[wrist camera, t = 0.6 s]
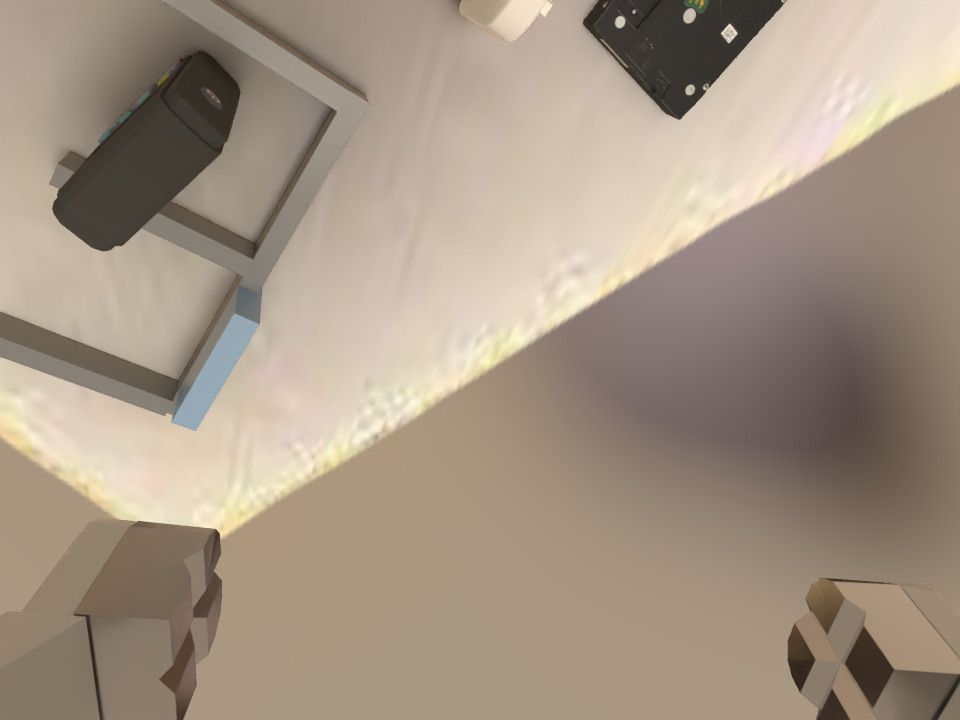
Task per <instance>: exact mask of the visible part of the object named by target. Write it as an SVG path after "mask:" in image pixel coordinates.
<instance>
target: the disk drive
mask: <svg viewBox="0 0 960 720" xmlns="http://www.w3.org/2000/svg"><path fill="white" fill-rule="evenodd" d="M786 1H787V0H599V2H598V3H597V4H596V5H595V8H594V9H593V10H592V11H591V12H590V13H589V14H588V17H586V18H585V20H584V21H583V24H584V25H585V27H586V28H587V29H588V30H589V31H590V32H591V33H592V34H593V35H594V36H595V37H596V38H597V39H598V40H599V42H600V43H601V44H602V45H603V46H604V47H605V48H606V49H607V51H609V52H610V54H611V55H612V56H613V57H614V58H615V59H616V60H617V61H618V62H619V64H620V65H621V66H622V67H623V68H624V69H625V70H626V71H627V72H628V73H629V74H630V75H631V77H632V78H633V79H634V80H635V81H636V82H637V83H638V84H639V85H640V86H641V87H642V89H643V90H644V91H645V92H646V93H647V94H648V95H649V96H650V97H651V98H652V99H653V100H654V101H655V102H656V103H657V104H658V105H659V106H660V108H661V109H662V110H663V111H664V112H665V113H666V114H668V115H670V116H672V117H674V118H676V119H679V120H680V119H681V118H682V117H683V116H684V115H685V114H686V113H687V112H688V111H689V110H690V109H691V108H692V107H693V106H694V105H695V104H696V103H697V101H698V100H699V99H700V98H701V97H702V96H703V95H704V94H705V92H706V90H707V89H708V88H709V87H710V86H711V85H712V84H713V83H714V82H715V81H716V80H717V79H718V78H719V76H720V75H721V74H722V73H723V72H724V71H725V69H726V68H727V67H728V66H729V65H730V64H731V63H732V61H733V60H734V59H735V58H736V57H737V56H738V55H739V54H740V52H741V51H742V50H743V49H744V48H745V47H746V46H747V44H748V43H749V42H750V41H751V40H752V39H753V37H755V36H756V35H757V34H758V32H759V31H760V30H761V29H762V28H763V27H764V25H765V24H766V23H767V22H768V21H769V20H770V19H771V18H772V17H773V16H774V14H775V13H776V12H777V11H778V10H779V9H780V8H781V7H782V5H783V4H784V3H785V2H786Z"/></svg>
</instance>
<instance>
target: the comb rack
mask: <svg viewBox="0 0 960 720" xmlns="http://www.w3.org/2000/svg"><path fill="white" fill-rule="evenodd" d="M162 1H163V2H165V3H166V4H168V5H169V6H171V7H173V8H174V9H176V10H177V11H179V12H181V13H182V14H184V15H185V16H187V17H188V18H190V19H192V20H193V21H195V22H196V23H198V24H200V25H201V26H203V27H204V28H206V29H207V30H209V31H211V32H212V33H214V34H215V35H217V36H219V37H220V38H222V39H223V40H225V41H226V42H228V43H230V44H231V45H233V46H234V47H236V48H238V49H239V50H241V51H242V52H244V53H245V54H247V55H249V56H250V57H252V58H253V59H255V60H257V61H258V62H260V63H261V64H263V65H264V66H266V67H268V68H269V69H271V70H272V71H274V72H276V73H277V74H279V75H280V76H282V77H283V78H285V79H287V80H288V81H290V82H291V83H293V84H295V85H296V86H298V87H299V88H301V89H302V90H304V91H306V92H307V93H309V94H310V95H312V96H314V97H315V98H317V99H318V100H320V101H321V102H323V103H325V104H326V105H328V106H329V107H331V108H333V109H332V111H331V113H330V114H329V116H328V118H327V120H326V121H325V123H324V125H323V127H322V128H321V130H320V132H319V134H318V136H317V137H316V139H315V141H314V143H313V144H312V146H311V148H310V150H309V151H308V153H307V155H306V157H305V158H304V160H303V162H302V164H301V165H300V167H299V169H298V171H297V172H296V174H295V176H294V178H293V179H292V181H291V183H290V185H289V187H288V188H287V190H286V192H285V194H284V195H283V197H282V199H281V201H280V202H279V204H278V206H277V208H276V209H275V211H274V213H273V215H272V216H271V218H270V220H269V222H268V223H267V225H266V227H265V229H264V231H263V232H262V234H261V236H260V238H259V239H258V241H257V243H256V244H254V243H252V242H250V241H248V240H246V239H244V238H242V237H240V236H238V235H236V234H234V233H232V232H230V231H228V230H226V229H224V228H222V227H220V226H218V225H216V224H214V223H212V222H210V221H208V220H206V219H204V218H202V217H200V216H198V215H196V214H194V213H192V212H190V211H188V210H186V209H184V208H182V207H180V206H178V205H176V204H174V203H172V202H169V203H168V204H167V205H165V206H164V207H163V208H162V209H161V210H160V211H159V212H158V213H157V214H156V215H155V216H154V217H153V218H152V219H151V220H149V221H148V222H147V223H146V224H145V225H144V226H143V227H142V228H143V229H145V230H147V231H149V232H151V233H153V234H155V235H157V236H159V237H161V238H164V239H166V240H168V241H170V242H172V243H174V244H176V245H178V246H180V247H182V248H185V249H187V250H189V251H191V252H193V253H195V254H197V255H199V256H201V257H203V258H206V259H208V260H210V261H212V262H214V263H216V264H218V265H220V266H222V267H224V268H227V269H229V270H231V271H233V272H235V273H237V274H239V275H238V276H237V278H236V280H235V282H234V283H233V285H232V287H231V289H230V290H229V292H228V294H227V296H226V297H225V299H224V301H223V303H222V304H221V306H220V308H219V310H218V311H217V313H216V315H215V317H214V319H213V320H212V322H211V324H210V326H209V327H208V329H207V331H206V333H205V334H204V336H203V338H202V340H201V341H200V343H199V345H198V347H197V348H196V350H195V352H194V354H193V355H192V357H191V359H190V361H189V363H188V364H187V366H186V368H185V370H184V371H183V373H182V375H181V377H180V378H179V380H178V381H177V380H174V379H172V378H169V377H167V376H164V375H162V374H159V373H156V372H154V371H151V370H149V369H146V368H143V367H141V366H138V365H136V364H133V363H130V362H128V361H125V360H123V359H120V358H118V357H115V356H112V355H110V354H107V353H105V352H102V351H99V350H97V349H94V348H92V347H89V346H86V345H84V344H81V343H79V342H76V341H74V340H71V339H68V338H66V337H63V336H61V335H58V334H55V333H53V332H50V331H48V330H45V329H42V328H40V327H37V326H35V325H32V324H30V323H27V322H24V321H22V320H19V319H17V318H14V317H11V316H9V315H6V314H4V313H1V312H0V357H2V358H5V359H8V360H11V361H13V362H16V363H19V364H22V365H24V366H27V367H30V368H33V369H36V370H38V371H41V372H44V373H47V374H49V375H52V376H55V377H58V378H61V379H63V380H66V381H69V382H72V383H74V384H77V385H80V386H83V387H86V388H88V389H91V390H94V391H97V392H99V393H102V394H105V395H108V396H111V397H113V398H116V399H119V400H122V401H124V402H127V403H130V404H133V405H136V406H138V407H141V408H144V409H147V410H149V411H152V412H155V413H158V414H161V415H163V416H165V415H166V413H169V414H172V415H173V417H172V421H171V422H172V423H175V424H177V425H180V426H183V427H186V428H189V429H191V430H194V431H196V430H197V428H198V427H199V425H200V423H201V422H202V420H203V418H204V417H205V415H206V413H207V412H208V410H209V408H210V406H211V405H212V403H213V401H214V400H215V398H216V396H217V395H218V393H219V391H220V390H221V388H222V386H223V385H224V383H225V381H226V380H227V378H228V376H229V375H230V373H231V371H232V370H233V368H234V366H235V365H236V363H237V361H238V360H239V358H240V356H241V355H242V353H243V351H244V349H245V348H246V346H247V344H248V343H249V341H250V339H251V338H252V336H253V334H254V333H255V331H256V329H257V328H258V326H259V324H260V311H261V297H262V286H263V284H264V283H265V281H266V279H267V278H268V276H269V274H270V272H271V271H272V269H273V267H274V266H275V264H276V262H277V261H278V259H279V257H280V255H281V254H282V252H283V250H284V249H285V247H286V245H287V243H288V242H289V240H290V238H291V237H292V235H293V233H294V231H295V230H296V228H297V226H298V225H299V223H300V221H301V220H302V218H303V216H304V214H305V213H306V211H307V209H308V208H309V206H310V204H311V202H312V201H313V199H314V197H315V196H316V194H317V192H318V190H319V189H320V187H321V185H322V184H323V182H324V180H325V179H326V177H327V175H328V173H329V172H330V170H331V168H332V167H333V165H334V163H335V161H336V160H337V158H338V156H339V155H340V153H341V151H342V149H343V148H344V146H345V144H346V143H347V141H348V139H349V138H350V136H351V134H352V132H353V131H354V129H355V127H356V126H357V124H358V122H359V120H360V119H361V117H362V115H363V114H364V112H365V110H366V108H367V107H368V105H369V102H368V100H367V97H366V96H365V95H363V94H362V93H360V92H359V91H357V90H356V89H354V88H353V87H351V86H350V85H348V84H347V83H345V82H344V81H342V80H340V79H339V78H337V77H336V76H334V75H333V74H331V73H330V72H328V71H327V70H325V69H324V68H322V67H321V66H319V65H318V64H316V63H315V62H313V61H312V60H310V59H308V58H307V57H305V56H304V55H302V54H301V53H299V52H298V51H296V50H295V49H293V48H292V47H290V46H289V45H287V44H286V43H284V42H283V41H281V40H280V39H278V38H276V37H275V36H273V35H272V34H270V33H269V32H267V31H266V30H264V29H263V28H261V27H260V26H258V25H257V24H255V23H254V22H252V21H251V20H249V19H248V18H246V17H245V16H243V15H241V14H240V13H238V12H237V11H235V10H234V9H232V8H231V7H229V6H228V5H226V4H225V3H223V2H222V1H220V0H162ZM85 160H86V159H85V158H83V157H81V156H79V155H77V154H75V153H73V152H71V151H70V152H69V153H68V154H67V155H66V156H65V157H64V158H63V159H62V160H61V161H60V162H59V163H58V165H57V167H56V169H55V172H54V174H53V176H52V179H51V181H50V183H49V184H50V185H52V186H54V187H56V188H59V189H60V188H61V187H62V186H63V185H64V184H65V183H66V182H67V181H68V180H69V178H70V177H71V176H72V175H73V174H74V173H75V172H76V170H77V169H78V168H79V167H80V166H81V165H82V164H83V163H84V161H85Z"/></svg>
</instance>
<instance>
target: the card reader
mask: <svg viewBox="0 0 960 720" xmlns="http://www.w3.org/2000/svg"><path fill="white" fill-rule="evenodd" d="M158 81H159V82H158V83H157V87H156V86H155V85H152V86H151V87H150V88H149V89H148V90H147V91H146V92H145V93H144V94H143V95H141V96H140V98H139V99H138V100H137V101H136V102H135V103H134V104H133V105H132V106H131V108H130V110H131V111H125V112H124V113H123V114H122V115H121V116H120V117H119V118H118V119H117V120H116V121H115V122H114V123H113V124H112V125H111V126H110V127H109V129H108V130H107V131H106V132H105V133H104V134H103V135H102V138H101V139H100V140H99V143H101V144H100V145H99V146H98V147H97V148H96V149H95V150H94V151H93V152H92V154H91V155H90V156H89V157H88V158H87V159H86V160H85V161H84V163H83V164H82V165H81V166H80V167H79V168H78V169H77V170H76V172H75V173H74V174H73V175H72V176H71V177H70V178H69V180H68V181H67V182H66V183H65V184H64V185H63V186H62V187H61V188H60V189H59V190H58V194H57V197H58V198H57V199H56V200H55V201H54V204H53V208H52V209H53V213H54V215H55V216H56V218H57V219H58V221H59V222H60V223H61V224H62V225H63V226H64V227H66V228H67V229H68V230H70V231H71V232H72V233H74V234H75V235H76V236H77V237H79V238H80V239H81V240H83V241H84V242H85V243H86V244H88V245H89V246H90V247H92V248H94V249H97V250H100V251H109V250H111V249H112V248H114V247H115V246H122V245H124V244H125V243H126V242H127V241H128V240H129V239H130V238H131V237H132V236H133V235H135V234H136V233H137V232H138V231H139V230H140V229H141V228H142V227H143V226H144V225H145V224H146V223H147V222H148V221H149V220H151V219H152V218H153V217H154V216H155V215H156V214H157V213H158V212H159V211H160V210H161V209H162V208H163V207H164V206H165V205H167V204H168V203H169V202H170V201H171V200H172V199H173V198H174V197H175V196H176V195H177V194H178V193H179V192H180V191H182V190H183V189H184V188H185V187H186V186H187V185H188V184H189V183H190V182H191V181H192V180H193V179H194V178H195V177H196V176H198V175H199V174H200V173H201V172H202V171H203V170H204V169H205V168H206V167H207V166H208V165H209V164H210V163H211V162H212V161H214V160H215V159H216V158H217V157H218V156H219V155H220V154H221V152H222V149H223V146H224V143H225V142H227V140H228V137H229V134H230V130H231V127H232V123H233V120H234V116H235V113H236V109H237V106H238V101H239V96H240V89H239V87H238V85H237V84H236V82H235V81H234V80H233V78H232V77H231V76H230V75H229V74H228V73H227V72H226V71H225V70H224V69H223V68H222V67H221V66H220V65H219V64H218V63H217V62H216V61H215V60H214V59H213V58H212V57H211V56H210V55H209V54H207V53H205V52H203V51H199V52H197V53H196V54H195V55H194V56H191V55H189V56H187V57H186V58H185V59H184V60H183V59H181V58H179V59H178V60H177V61H176V62H175V63H174V64H173V65H172V66H171V67H170V68H169V69H168V70H167V71H166V72H165V73H164V75H163V76H162V77H161V78H160V79H159V80H158Z"/></svg>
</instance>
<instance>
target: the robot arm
mask: <svg viewBox="0 0 960 720" xmlns="http://www.w3.org/2000/svg"><path fill="white" fill-rule="evenodd" d="M220 555H221V544H220V533H219V532H218V531H217V530H216V529H211V528H201V527H192V526H182V525H172V524H163V523H153V522H143V521H137V522H134V521H127V520H117V519H107V518H96V519H94V520H92V521H90V522H89V523H87V524H86V525H85V526H84V528H83V529H82V531H81V532H80V533H79V535H78V536H77V537H76V539H75V540H74V542H73V543H72V544H71V546H70V547H69V548H68V550H67V551H66V553H65V554H64V555H63V557H62V558H61V559H60V561H59V562H58V563H57V565H56V566H55V568H54V569H53V570H52V572H51V573H50V574H49V576H48V577H47V578H46V580H45V581H44V582H43V584H42V585H41V586H40V588H39V589H38V590H37V592H36V593H35V595H34V596H33V597H32V599H31V600H30V602H29V603H28V604H27V605H26V607H25V608H24V609H23V611H22V612H6V613H4V614H3V615H1V616H0V720H183V719H184V716H185V714H186V711H187V709H188V706H189V703H190V701H191V698H192V696H193V693H194V691H195V688H196V685H197V683H196V664H197V663H199V662H200V661H201V660H203V659H204V658H205V657H206V656H207V655H208V654H209V651H210V649H211V646H212V643H213V641H214V638H215V635H216V630H217V626H218V622H219V617H220V613H221V601H222V580H221V579H220V578H219V577H218V575H217V574H216V573H215V572H214V569H215V567H216V565H217V562H218V560H219V558H220ZM805 600H806V602H807V605H808V607H809V609H810V612H809V613H807V614H806V615H805V616H803V617H802V618H800V619H799V620H798V621H796V622H795V623H794V626H793V628H792V631H791V634H790V636H789V639H788V664H789V667H790V671H791V675H792V678H793V680H794V682H795V684H796V686H797V688H798V690H799V692H800V693H801V694H802V695H803V696H804V697H805V698H807V699H808V700H809V701H810V702H812V703H813V704H814V705H815V706H816V707H818V708H819V710H818V714H817V718H816V720H960V618H959V616H958V615H957V614H956V613H955V612H954V611H953V609H952V608H951V607H950V606H949V605H948V604H947V603H946V601H945V600H944V599H943V598H942V597H941V596H940V595H939V593H938V592H937V591H936V590H934V589H932V588H930V587H929V586H927V585H925V584H916V583H898V582H888V583H885V582H873V581H860V580H846V579H832V578H819V579H818V580H817V581H816V582H814V583H813V584H812V585H811V588H810V589H809V592H808V594H807V596H806V598H805Z"/></svg>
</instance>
